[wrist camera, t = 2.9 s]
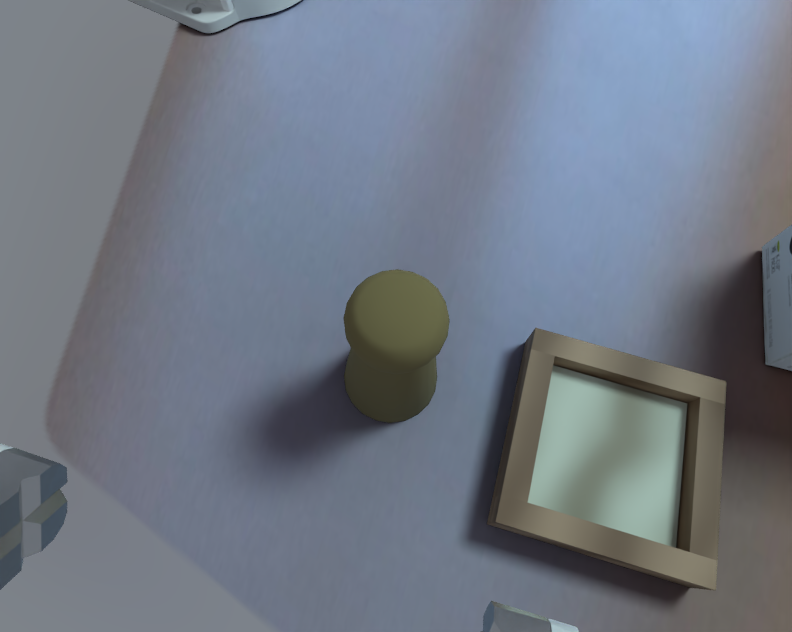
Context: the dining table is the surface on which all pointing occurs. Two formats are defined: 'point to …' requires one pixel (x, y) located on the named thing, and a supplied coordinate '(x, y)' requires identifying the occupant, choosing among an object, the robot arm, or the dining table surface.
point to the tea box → (778, 299)
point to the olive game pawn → (394, 344)
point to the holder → (614, 459)
